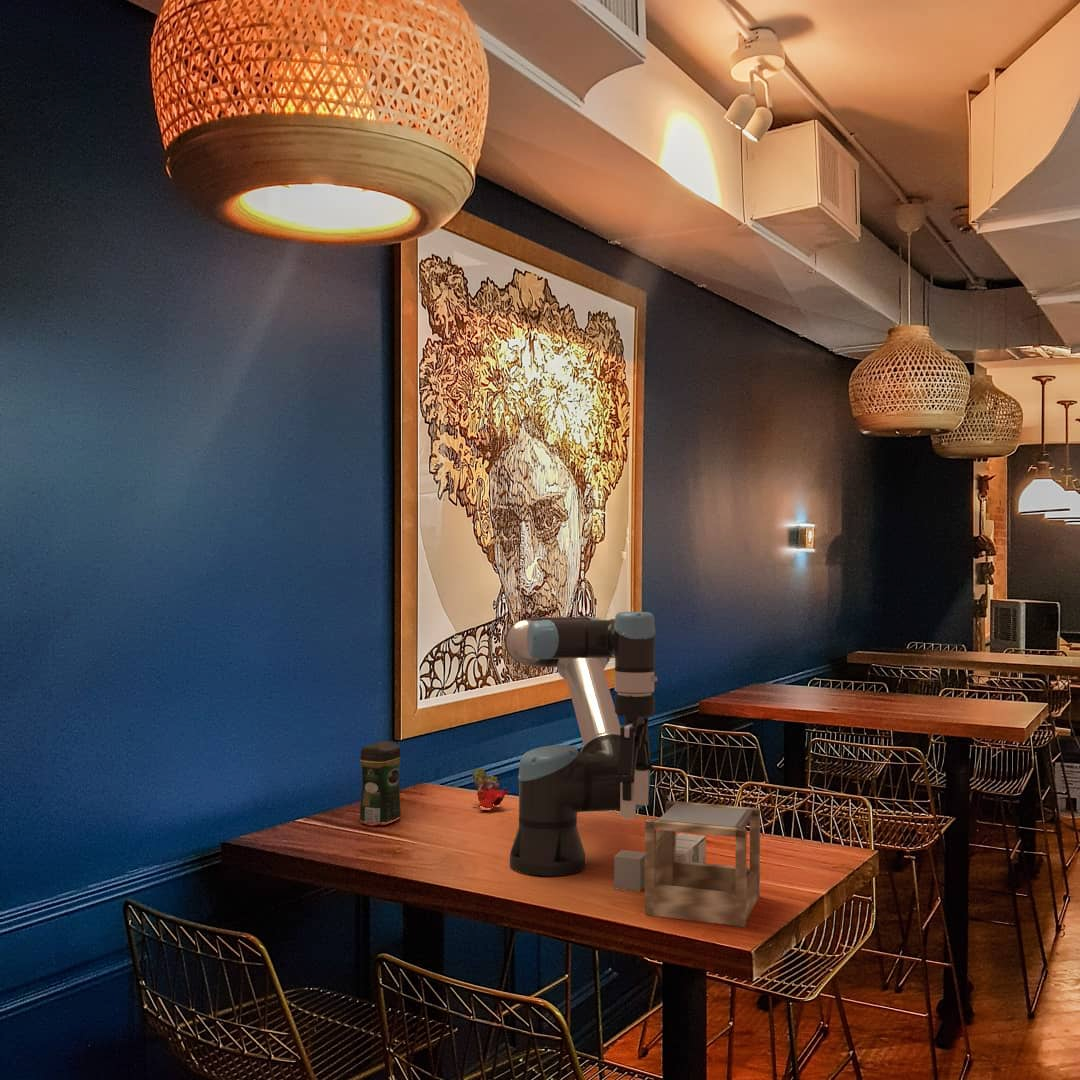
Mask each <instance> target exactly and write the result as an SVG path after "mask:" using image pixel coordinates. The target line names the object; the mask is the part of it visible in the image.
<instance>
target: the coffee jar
mask: <svg viewBox="0 0 1080 1080" xmlns="http://www.w3.org/2000/svg"><path fill="white" fill-rule="evenodd" d="M400 748H401V747H400V745H399V744H398V742H396V741H390V740H382V741H378V742H374V743H371V744H366V745H364V746H363V747H362V748H360V757H359V763H360V766H361V775H362V777H361V792H360V793H361V794H360V795H361V796H360V808H359V821H360V820H362V821H365V822H374V823H381V822H388V821H391V820H394V819H396V818H398V817H400V816H401V817H402V814H401V812H402V811H401V797H400V777H399V776H400V763H401V749H400ZM401 817H400V818H401Z"/></svg>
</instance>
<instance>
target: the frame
mask: <svg viewBox="0 0 1080 1080" xmlns="http://www.w3.org/2000/svg"><path fill="white" fill-rule="evenodd" d="M674 804H685V805H696V806H708V807H720V808H731V809H743V810H752V817H751V819H750V820H749V867H747V865H748V863H747V861H748V860H747V858H748V857H747V855H748V854H747V852H748V851H747V849H748V848H747V847H748V845H747V844H748V842H747V841H748V838H747V837H748V836H747V835H748V831H747V828H745V827H744V828H736V827H725V826H714V825H703V824H692V823H682V822H671V821H660V820H658V819H645V820H644V852H645V887H644V915H645V916H652V917H660V918H661V917H662V918H667V919H668V918H669V919H675V920H676V919H678V920H685V921H692V922H701V923H708V924H716V923H717V925H724V924H725V925H726V926H731V927H732V926H734V927H739V928H740V927H742V928H746V925H747V922H748V919H749V917H750V916H751V913H752V911H753V910H754V907H755V905H756V903H757V902H758V900H759V899H760V897H761V808H758V807H749V806H748V807H747V806H746V807H745V806H735V805H722V804H712V803H700V802H689V801H677V800H667V801H665V813H666V812H667V811H668V810H669V809H670V808H671V807H672V806H673V805H674ZM677 832H679V833H687V834H698V835H708V836H709V835H711V836H720V837H721V836H722V837H733V838H735V865H734V866H733V865H725V864H716V863H715V864H714V863H707V862H706V863H697V862H687V861H678V860H676V836H677ZM725 925H724V926H725Z"/></svg>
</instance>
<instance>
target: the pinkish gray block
mask: <svg viewBox="0 0 1080 1080" xmlns="http://www.w3.org/2000/svg"><path fill="white" fill-rule="evenodd" d="M613 859H614V861H613V867H614V868H613V889H614V888H618V889H617V890H619V889H625V890H624V891H627V890H633V891H632V892H636V891H641V890H642V891H643V889H645V887H644V886H645V851H634V850H626V849H625V850H624V849H621V850H619V852H618V853H617V854H615V856H614V858H613ZM642 891H641V892H642Z"/></svg>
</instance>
